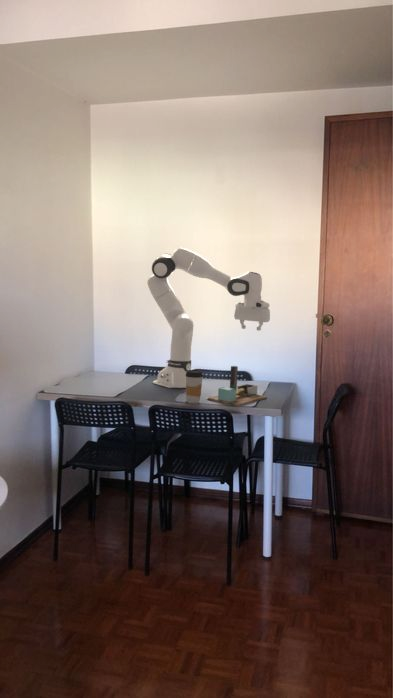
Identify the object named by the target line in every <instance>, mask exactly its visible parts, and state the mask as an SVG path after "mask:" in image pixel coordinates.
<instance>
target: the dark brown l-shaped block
mask: <svg viewBox="0 0 393 698" xmlns="http://www.w3.org/2000/svg"><path fill="white" fill-rule="evenodd" d="M238 368H239V367H238V366H237V365H231V366H230V380H229V388H233V389H236V396H237V395H241V394H244V393H245V389H244V388H240V389H237V386H238V372H239V371H238Z"/></svg>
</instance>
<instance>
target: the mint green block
mask: <svg viewBox="0 0 393 698" xmlns="http://www.w3.org/2000/svg"><path fill="white" fill-rule="evenodd" d="M217 396H218V400H223V401H228V402H232V401H235V400H236V389H233V388H230V387H228V386H222V387H219V388H218V394H217Z"/></svg>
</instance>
